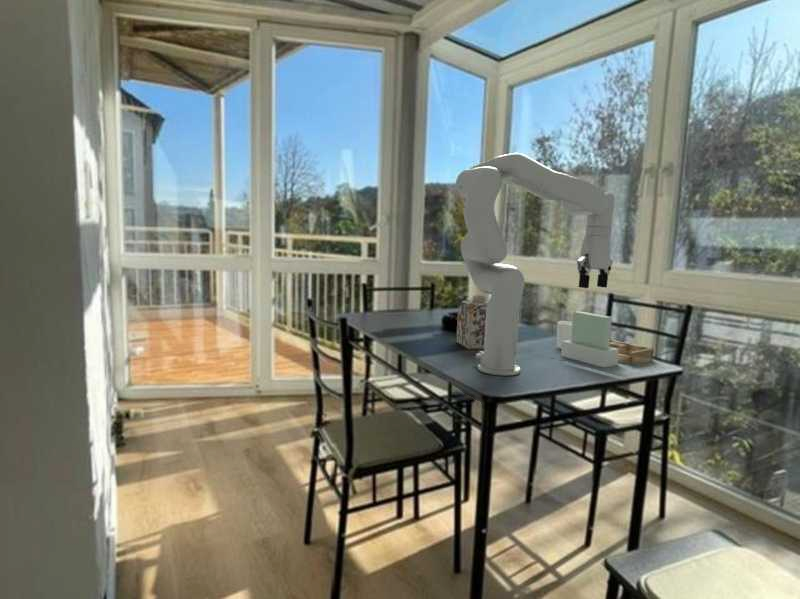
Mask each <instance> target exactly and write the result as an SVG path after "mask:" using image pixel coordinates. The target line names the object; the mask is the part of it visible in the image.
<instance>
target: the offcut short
mask: <svg viewBox="0 0 800 599" xmlns="http://www.w3.org/2000/svg"><path fill="white" fill-rule="evenodd" d="M609 347H612V348H617V349H619V352H623V351H626V345H624V344H620V343H615V342H610V343H609Z"/></svg>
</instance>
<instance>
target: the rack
mask: <svg viewBox="0 0 800 599" xmlns="http://www.w3.org/2000/svg"><path fill="white" fill-rule="evenodd" d="M610 342H615V343H620V344H624V345H626V351H627V355H623V354H618V362H617V363H620V364H624V365H628V366H635V365H641V364H645V363H650V362H653V360H654V351H655V350H654V348H651V347H647V346H646V347H645V346H641V345H638V344H633V343H628V342H623V341H619V340H614V339H610ZM610 342H609V343H610Z"/></svg>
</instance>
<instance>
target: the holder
mask: <svg viewBox="0 0 800 599" xmlns="http://www.w3.org/2000/svg"><path fill="white" fill-rule="evenodd" d="M618 352H619V349H617V348H612V347H609V350H601V349H597V348H593V347H588V346H584V345H580V344H576V343H571V340H566V341H562V349H561V354H560V355H561V357H563V358H567V359H571V360H574V361H579V362H582V363H585V364H586V363H587V364H590V365H594V366H598V367H601V368H608V367H613V366H618V363H619V362H618Z"/></svg>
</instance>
